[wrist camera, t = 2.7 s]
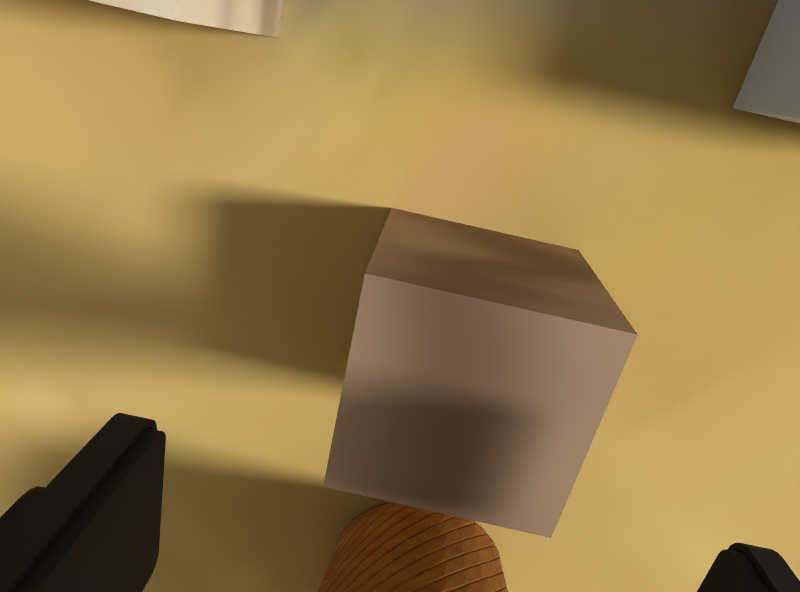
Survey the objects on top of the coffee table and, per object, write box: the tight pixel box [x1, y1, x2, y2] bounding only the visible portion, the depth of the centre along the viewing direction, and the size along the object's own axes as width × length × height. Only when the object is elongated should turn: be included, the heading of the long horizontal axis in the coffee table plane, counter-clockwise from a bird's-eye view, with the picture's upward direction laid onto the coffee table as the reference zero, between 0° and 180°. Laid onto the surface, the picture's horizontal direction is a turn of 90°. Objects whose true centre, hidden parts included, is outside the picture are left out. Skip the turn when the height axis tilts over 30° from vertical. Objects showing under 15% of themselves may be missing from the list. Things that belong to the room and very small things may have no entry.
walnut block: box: [323, 208, 637, 538], centre depth 15 cm, size 6×6×6 cm
